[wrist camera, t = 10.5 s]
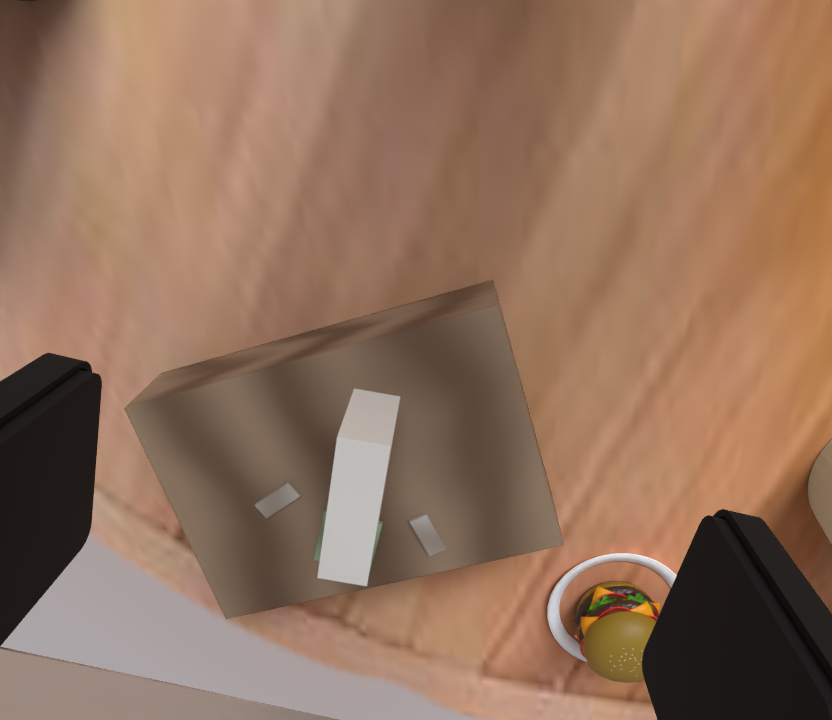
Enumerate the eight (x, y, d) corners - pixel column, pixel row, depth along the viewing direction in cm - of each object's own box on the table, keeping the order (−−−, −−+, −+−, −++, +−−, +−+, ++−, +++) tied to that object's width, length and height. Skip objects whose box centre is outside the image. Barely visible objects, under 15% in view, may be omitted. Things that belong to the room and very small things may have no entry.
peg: (359, 372, 35) (337, 436, 28) (403, 380, 35) (390, 446, 28) (334, 541, 38) (309, 633, 32) (374, 548, 38) (357, 641, 32)
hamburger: (748, 590, 45) (785, 654, 40) (618, 700, 49) (638, 771, 44) (608, 488, 43) (629, 541, 38) (484, 610, 47) (488, 674, 42)
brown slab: (492, 280, 38) (498, 306, 33) (552, 496, 43) (564, 548, 38) (161, 372, 41) (121, 410, 36) (249, 565, 46) (224, 622, 41)
